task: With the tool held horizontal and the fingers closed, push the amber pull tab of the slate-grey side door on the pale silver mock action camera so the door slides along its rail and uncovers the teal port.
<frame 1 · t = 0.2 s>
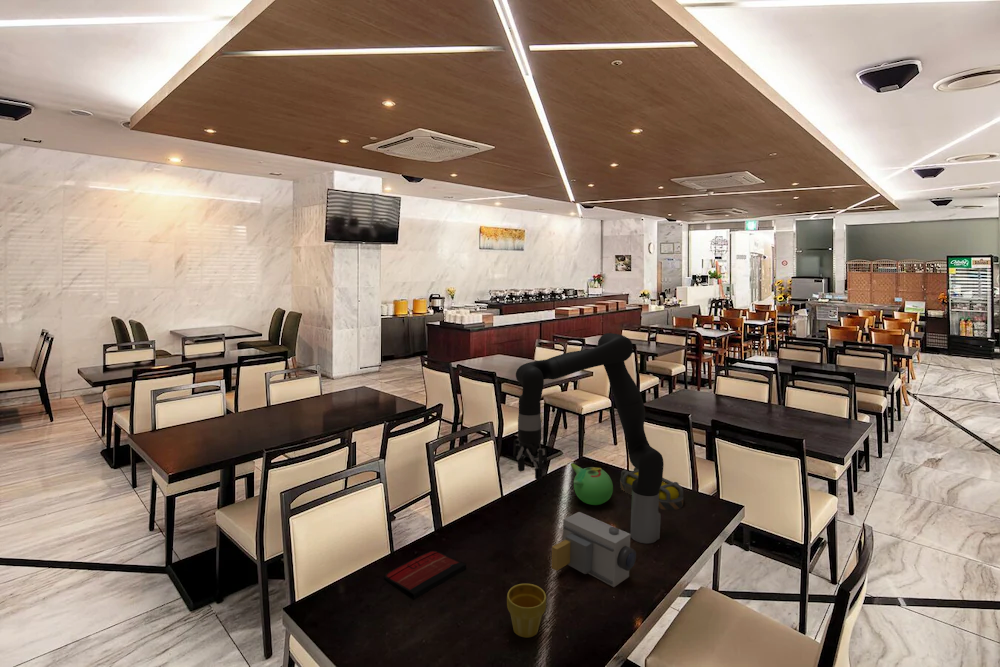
hand: (529, 474, 168), 28 cm above the table, tool pointing down, fingers open, 8 cm apart
plant pot: (526, 629, 137), on the table
binder: (424, 575, 162), on the table
toy bird: (591, 502, 212), on the table
door: (571, 557, 159), point 7 cm above the table, slide at 0.0 cm
cage light: (650, 495, 219), on the table
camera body: (594, 568, 165), on the table
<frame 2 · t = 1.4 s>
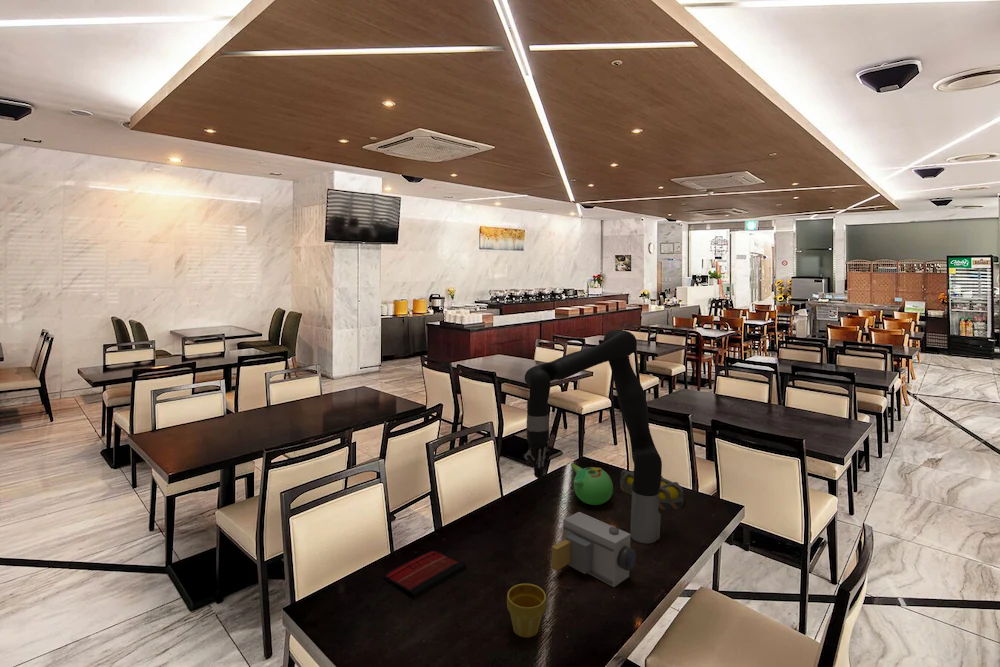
hand: (538, 477, 175), 25 cm above the table, tool pointing down, fingers closed
nothing on the table moved.
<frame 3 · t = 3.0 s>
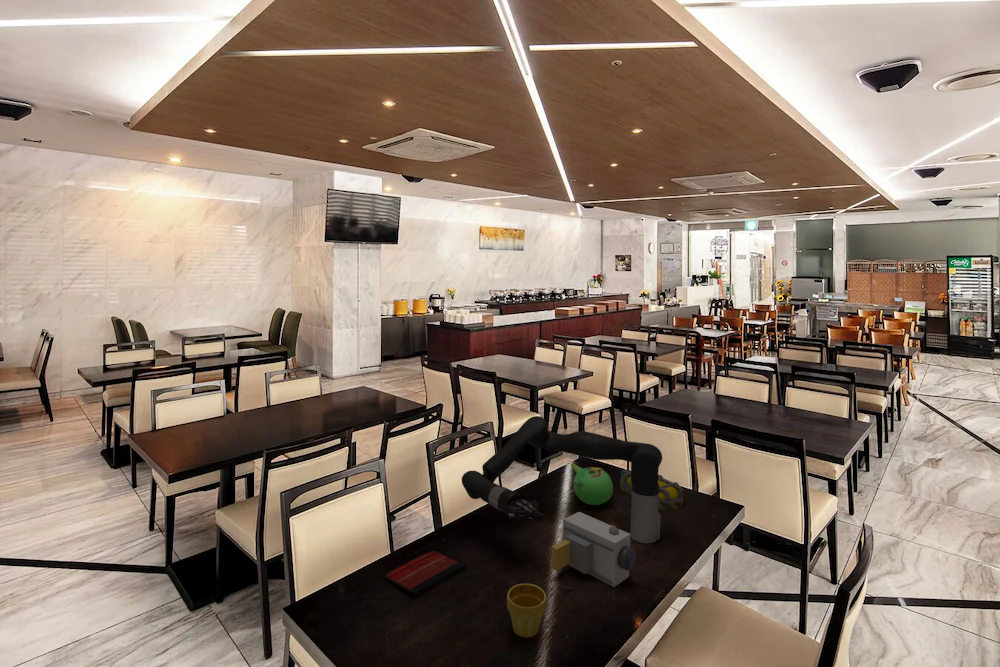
hand: (542, 518, 163), 17 cm above the table, tool horizontal, fingers closed
nothing on the table moved.
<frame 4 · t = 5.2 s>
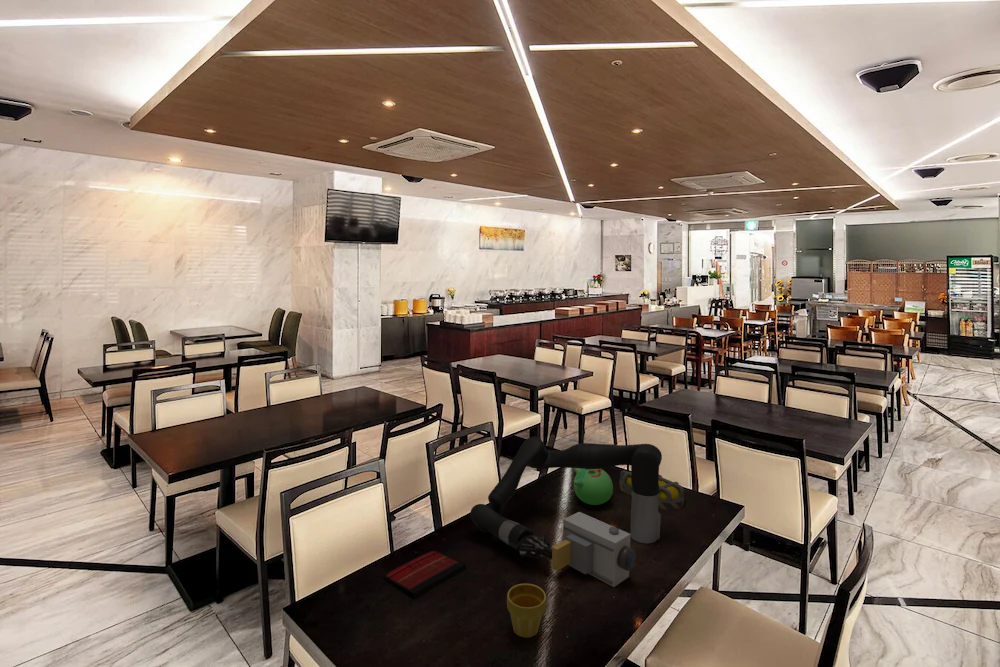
hand: (554, 556, 160), 7 cm above the table, tool horizontal, fingers closed
door: (572, 557, 159), point 6 cm above the table, slide at 0.1 cm, touching gripper
everything else where it was.
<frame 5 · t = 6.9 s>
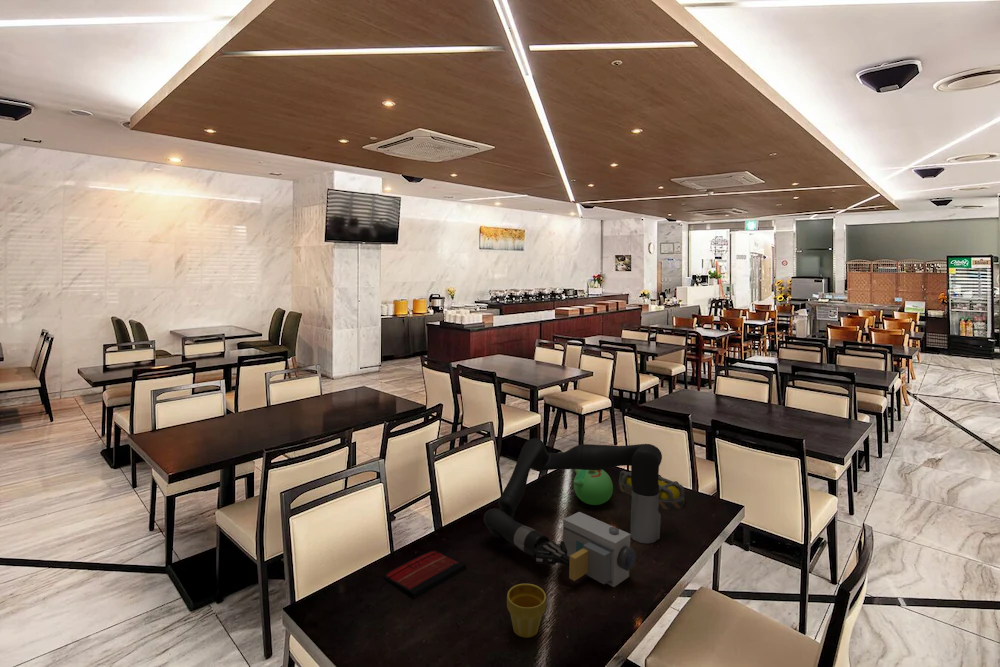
hand: (572, 563, 155), 7 cm above the table, tool horizontal, fingers closed
door: (590, 566, 154), point 6 cm above the table, slide at 7.0 cm, touching gripper
everything else where it was.
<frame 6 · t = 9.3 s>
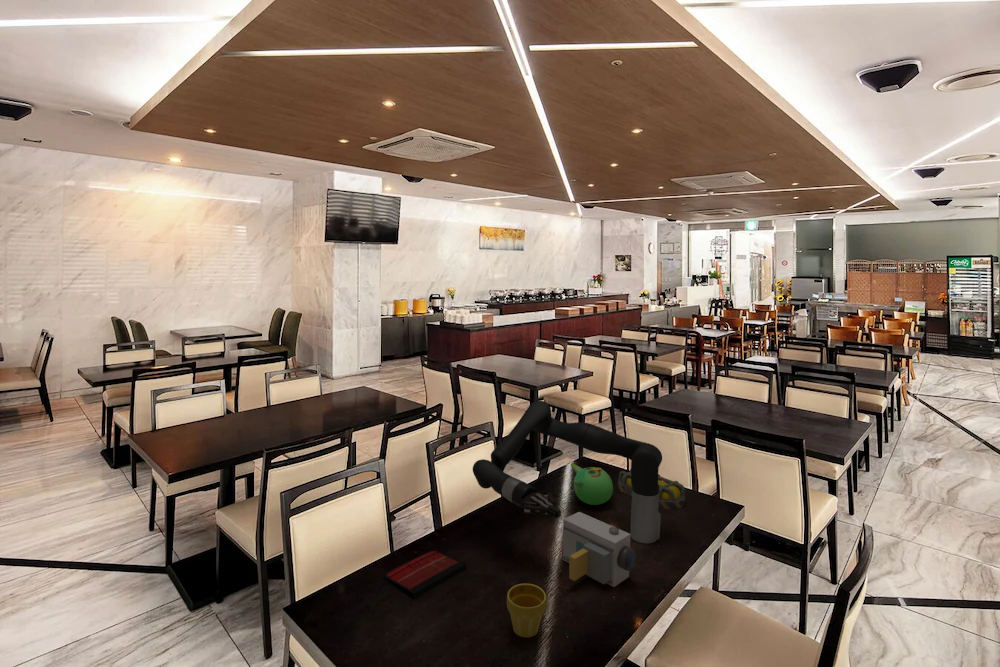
hand: (559, 514, 159), 20 cm above the table, tool horizontal, fingers closed
door: (590, 566, 154), point 7 cm above the table, slide at 7.0 cm
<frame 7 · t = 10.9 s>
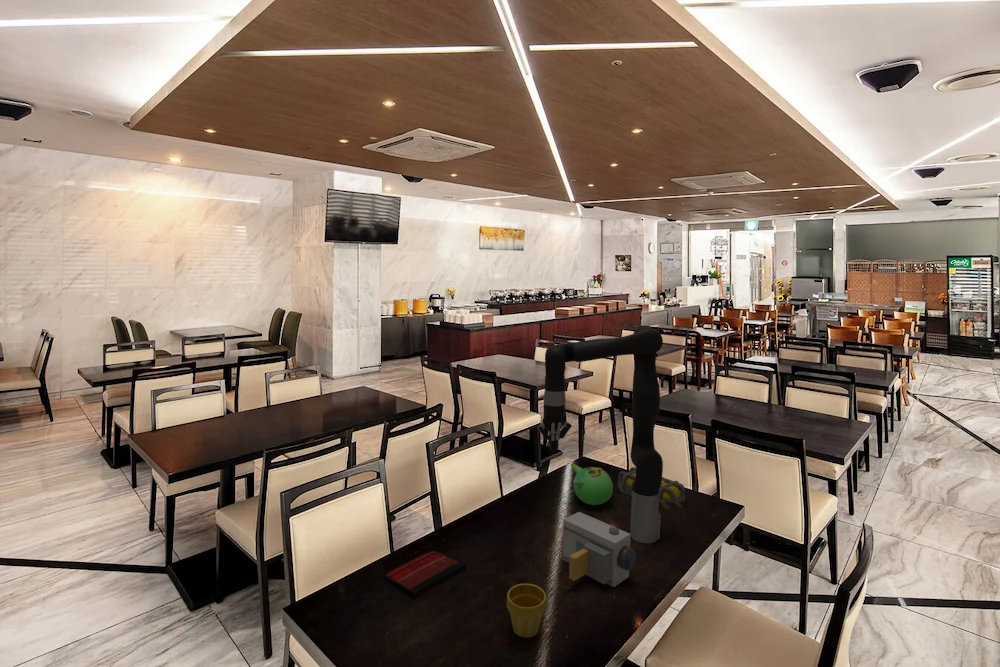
hand: (553, 450, 183), 31 cm above the table, tool pointing down, fingers closed
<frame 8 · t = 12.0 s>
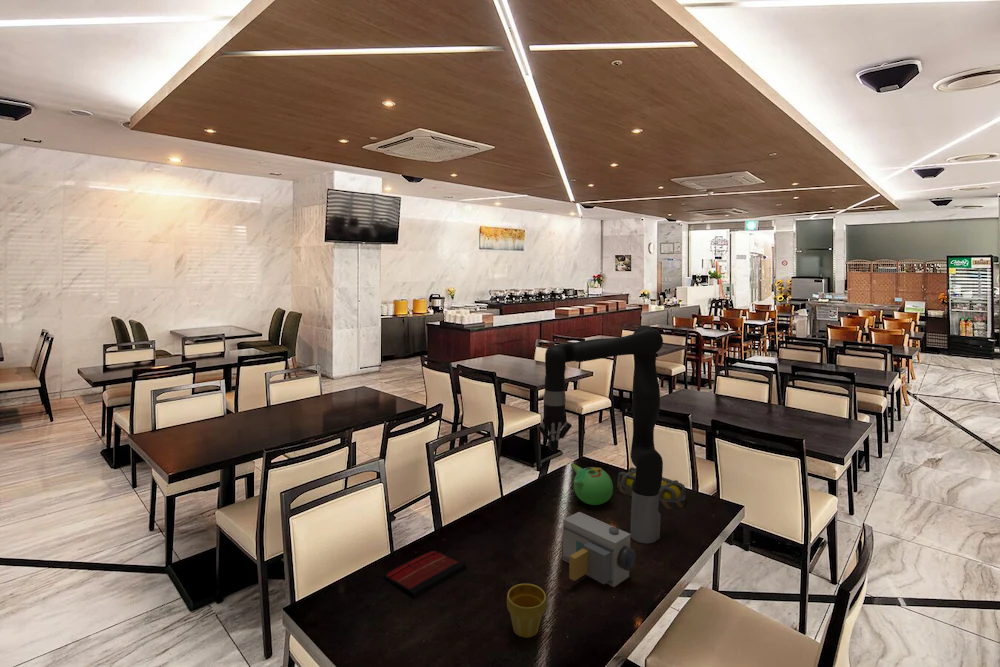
hand: (553, 450, 183), 31 cm above the table, tool pointing down, fingers closed
at the end: door slide at 7.0 cm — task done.
